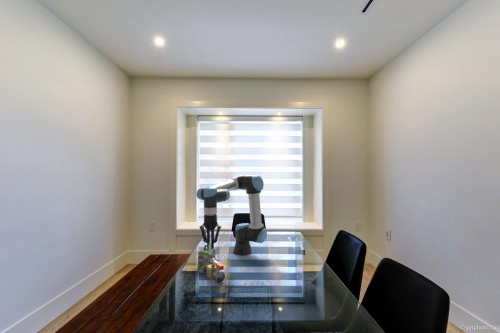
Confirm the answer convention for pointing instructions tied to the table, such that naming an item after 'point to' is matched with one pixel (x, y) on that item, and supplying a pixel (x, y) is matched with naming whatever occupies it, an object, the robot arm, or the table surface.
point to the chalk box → (204, 256)
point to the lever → (217, 264)
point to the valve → (213, 272)
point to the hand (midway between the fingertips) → (210, 254)
